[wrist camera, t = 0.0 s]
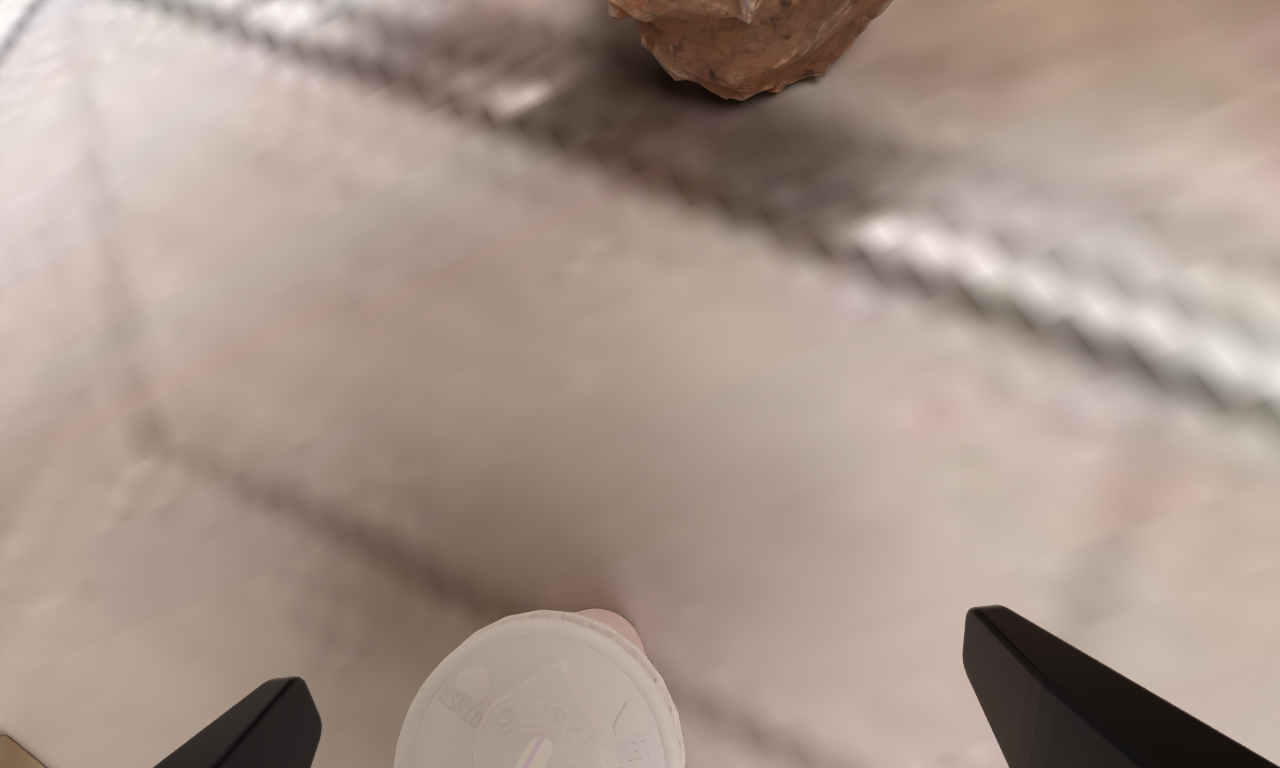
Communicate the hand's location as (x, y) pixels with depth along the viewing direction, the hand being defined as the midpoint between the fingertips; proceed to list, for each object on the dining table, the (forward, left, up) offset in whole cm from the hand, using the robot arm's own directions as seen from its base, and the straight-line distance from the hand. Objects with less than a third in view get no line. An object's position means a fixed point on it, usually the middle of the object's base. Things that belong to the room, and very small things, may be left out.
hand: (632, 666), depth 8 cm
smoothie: (-1, +4, -15) cm, 16 cm away
